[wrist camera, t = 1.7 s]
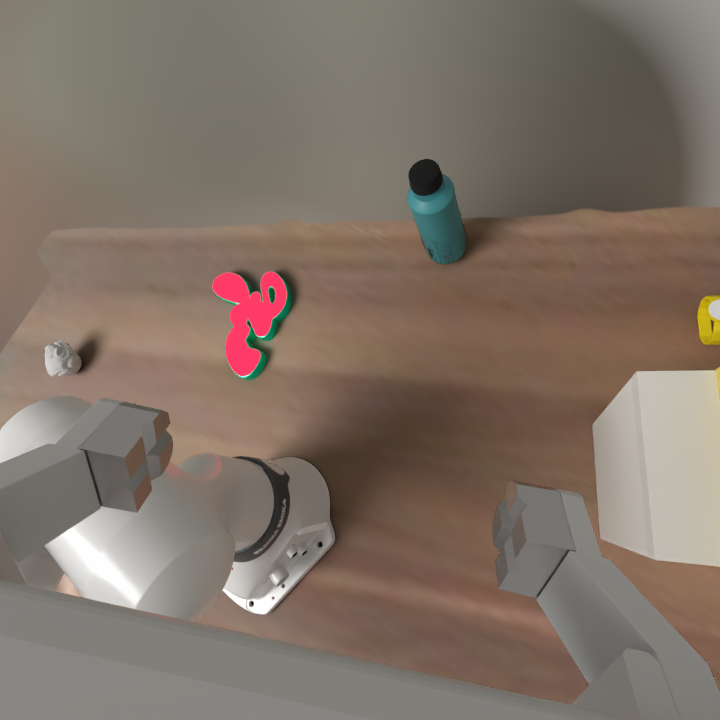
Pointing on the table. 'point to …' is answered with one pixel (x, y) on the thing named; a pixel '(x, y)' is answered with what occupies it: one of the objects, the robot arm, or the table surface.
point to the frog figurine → (61, 359)
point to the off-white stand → (661, 467)
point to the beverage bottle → (436, 212)
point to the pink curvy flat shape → (252, 318)
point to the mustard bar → (718, 380)
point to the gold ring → (709, 320)
